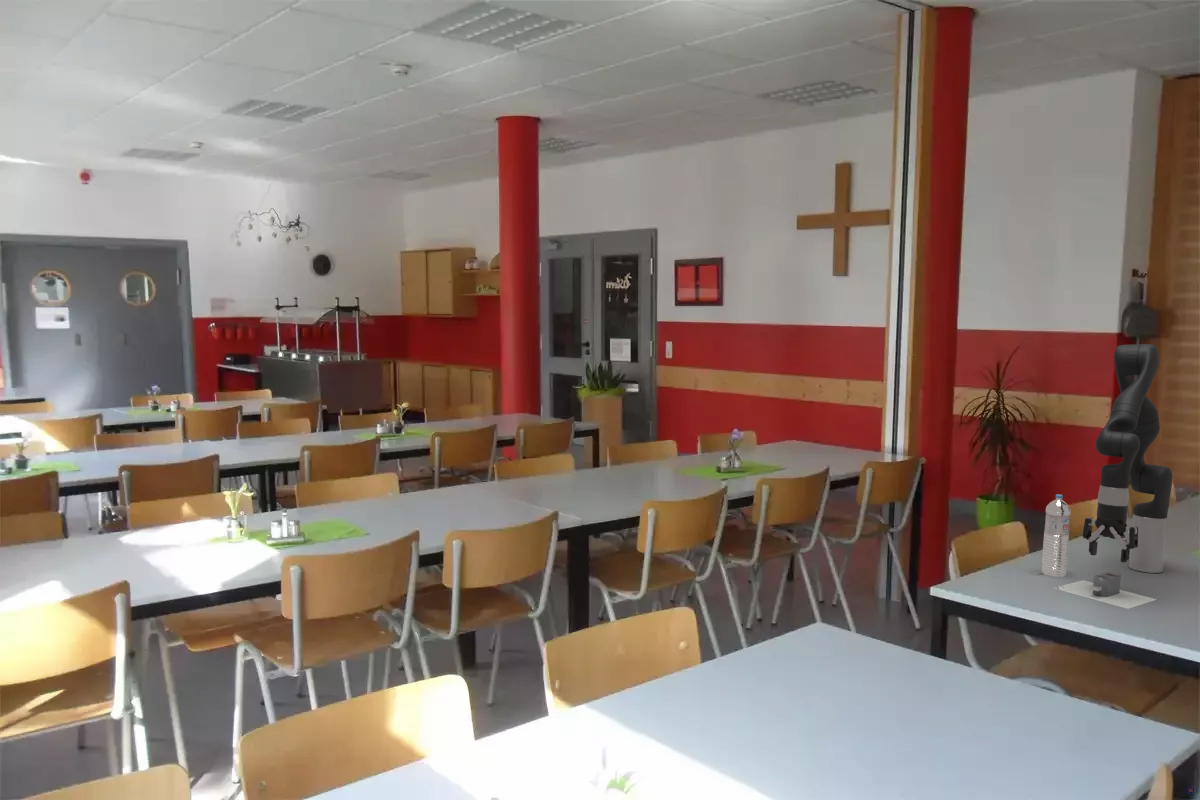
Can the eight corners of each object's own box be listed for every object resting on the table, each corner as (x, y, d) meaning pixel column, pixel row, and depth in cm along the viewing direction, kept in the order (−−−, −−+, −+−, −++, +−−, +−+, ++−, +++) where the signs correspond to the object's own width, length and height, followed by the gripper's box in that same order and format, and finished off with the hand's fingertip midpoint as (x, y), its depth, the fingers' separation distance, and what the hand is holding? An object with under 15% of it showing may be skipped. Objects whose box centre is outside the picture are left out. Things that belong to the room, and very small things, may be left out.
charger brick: (1108, 588, 266) (1109, 571, 266) (1122, 592, 263) (1123, 575, 262) (1085, 595, 259) (1087, 577, 259) (1100, 599, 256) (1101, 581, 256)
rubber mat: (1082, 582, 274) (1082, 580, 274) (1157, 601, 257) (1157, 599, 257) (1052, 590, 265) (1052, 588, 265) (1127, 610, 248) (1127, 608, 248)
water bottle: (1052, 579, 276) (1058, 497, 274) (1036, 572, 283) (1041, 493, 281) (1071, 578, 278) (1077, 496, 276) (1054, 571, 285) (1060, 492, 282)
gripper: (1146, 505, 255) (1141, 562, 257) (1094, 496, 267) (1090, 551, 269) (1132, 508, 251) (1127, 566, 253) (1080, 498, 263) (1076, 554, 264)
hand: (1108, 558), depth 261 cm, fingers open, 8 cm apart
